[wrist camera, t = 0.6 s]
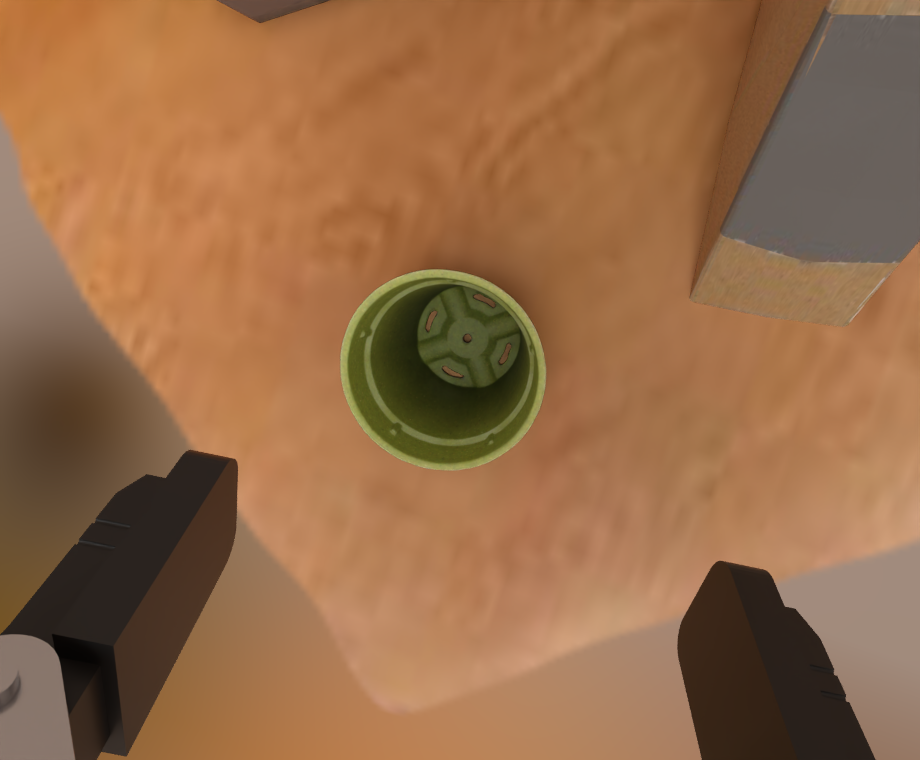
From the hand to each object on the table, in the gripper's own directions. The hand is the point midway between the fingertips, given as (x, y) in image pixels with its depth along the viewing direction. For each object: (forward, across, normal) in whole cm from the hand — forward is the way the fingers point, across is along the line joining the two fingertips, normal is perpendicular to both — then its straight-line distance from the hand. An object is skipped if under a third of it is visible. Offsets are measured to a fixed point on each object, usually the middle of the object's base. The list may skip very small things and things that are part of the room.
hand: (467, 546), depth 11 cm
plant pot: (+26, 0, +9) cm, 28 cm away
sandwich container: (+27, -15, -3) cm, 31 cm away
